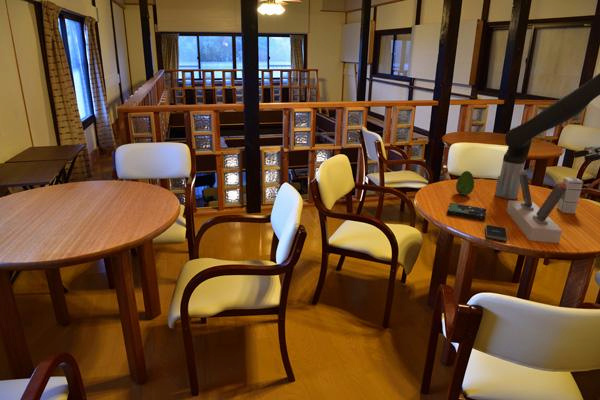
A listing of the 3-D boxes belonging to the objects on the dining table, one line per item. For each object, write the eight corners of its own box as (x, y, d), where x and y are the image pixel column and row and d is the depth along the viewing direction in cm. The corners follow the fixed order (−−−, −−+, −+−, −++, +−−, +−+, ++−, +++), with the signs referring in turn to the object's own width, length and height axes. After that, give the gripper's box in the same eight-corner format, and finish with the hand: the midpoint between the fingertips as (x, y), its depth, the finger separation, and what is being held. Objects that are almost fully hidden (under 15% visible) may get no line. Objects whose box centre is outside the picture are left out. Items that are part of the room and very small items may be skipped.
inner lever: (529, 201, 169) (523, 167, 165) (534, 206, 165) (527, 170, 161) (522, 203, 170) (516, 169, 166) (526, 207, 165) (520, 172, 162)
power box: (531, 213, 176) (534, 200, 174) (558, 243, 148) (563, 227, 146) (506, 211, 177) (509, 198, 175) (529, 240, 150) (532, 225, 148)
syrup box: (575, 213, 177) (584, 181, 172) (560, 212, 178) (569, 180, 173) (570, 209, 182) (578, 177, 177) (555, 207, 183) (563, 176, 178)
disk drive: (485, 214, 175) (448, 208, 180) (486, 208, 174) (450, 202, 180) (484, 222, 166) (446, 215, 172) (486, 216, 165) (447, 209, 171)
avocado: (464, 198, 192) (468, 173, 188) (451, 193, 198) (455, 169, 194) (475, 196, 196) (480, 172, 192) (462, 191, 202) (466, 167, 198)
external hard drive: (504, 232, 157) (505, 227, 156) (506, 243, 147) (507, 238, 147) (485, 229, 159) (485, 224, 159) (485, 240, 150) (486, 235, 149)
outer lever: (540, 217, 156) (565, 182, 150) (545, 222, 151) (570, 186, 146) (534, 214, 156) (557, 179, 150) (538, 219, 151) (563, 183, 146)
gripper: (618, 133, 149) (569, 144, 153) (642, 138, 136) (587, 150, 140) (620, 153, 151) (571, 163, 155) (644, 160, 137) (590, 171, 141)
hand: (579, 157), depth 147 cm, fingers open, 8 cm apart
